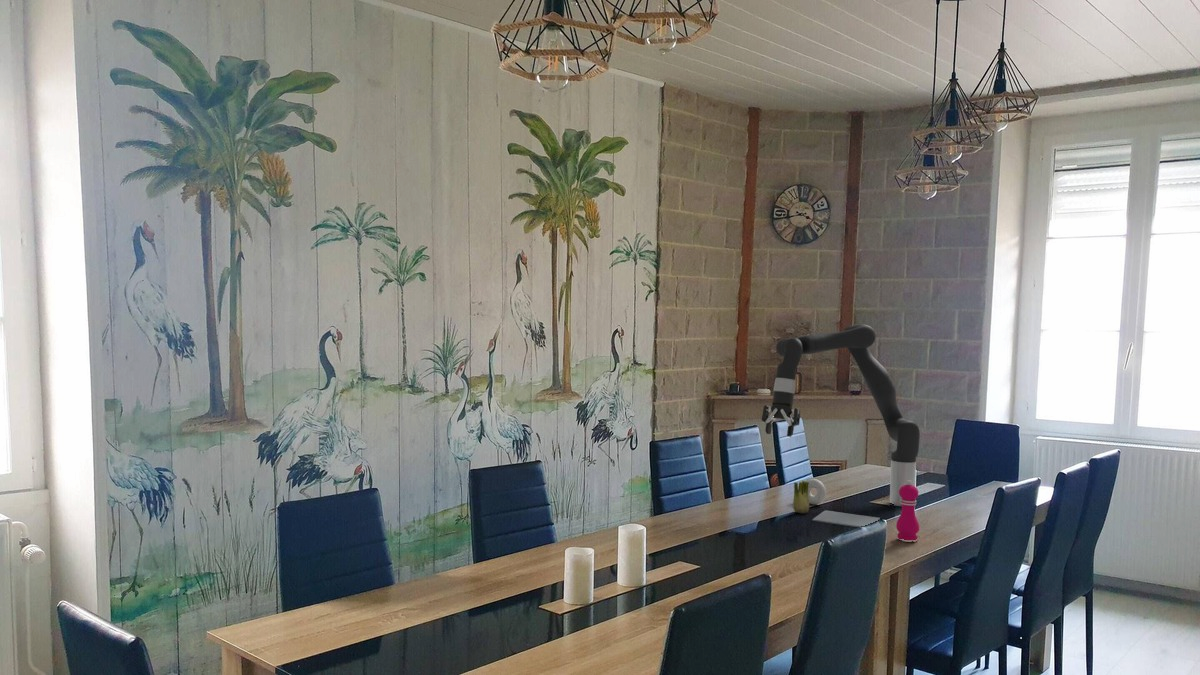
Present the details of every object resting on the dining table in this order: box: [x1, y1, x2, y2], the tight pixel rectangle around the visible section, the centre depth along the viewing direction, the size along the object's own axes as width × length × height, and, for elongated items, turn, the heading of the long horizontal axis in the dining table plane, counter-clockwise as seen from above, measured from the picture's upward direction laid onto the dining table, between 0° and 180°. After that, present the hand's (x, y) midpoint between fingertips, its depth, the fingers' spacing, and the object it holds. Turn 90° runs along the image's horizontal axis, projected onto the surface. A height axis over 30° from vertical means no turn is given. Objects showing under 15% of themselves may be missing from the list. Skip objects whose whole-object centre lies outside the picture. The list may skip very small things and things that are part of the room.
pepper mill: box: [895, 480, 920, 540], centre depth 278 cm, size 7×7×20 cm
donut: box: [806, 478, 827, 506], centre depth 327 cm, size 10×4×10 cm, turn 47°
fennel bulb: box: [792, 480, 810, 514], centre depth 313 cm, size 6×5×12 cm
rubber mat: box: [812, 509, 881, 528], centre depth 304 cm, size 16×20×1 cm
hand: (778, 435), depth 308 cm, fingers open, 8 cm apart
